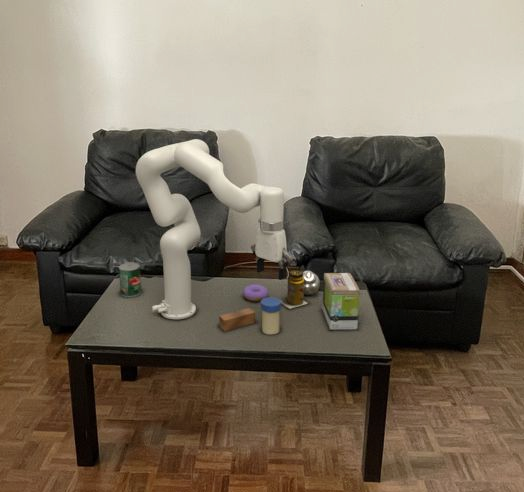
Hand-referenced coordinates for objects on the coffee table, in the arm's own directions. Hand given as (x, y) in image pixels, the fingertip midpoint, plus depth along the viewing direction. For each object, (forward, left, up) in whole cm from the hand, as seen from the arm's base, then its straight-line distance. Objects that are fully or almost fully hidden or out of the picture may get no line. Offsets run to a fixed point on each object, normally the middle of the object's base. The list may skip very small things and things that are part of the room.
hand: (271, 274), depth 182 cm
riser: (-8, +9, -20) cm, 23 cm away
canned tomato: (-32, +52, -20) cm, 64 cm away
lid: (0, 0, -10) cm, 10 cm away
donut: (+8, +24, -20) cm, 32 cm away
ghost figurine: (+27, +16, -20) cm, 37 cm away
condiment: (+18, +13, -20) cm, 30 cm away
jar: (0, 0, -20) cm, 20 cm away
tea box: (+25, -6, -20) cm, 33 cm away
